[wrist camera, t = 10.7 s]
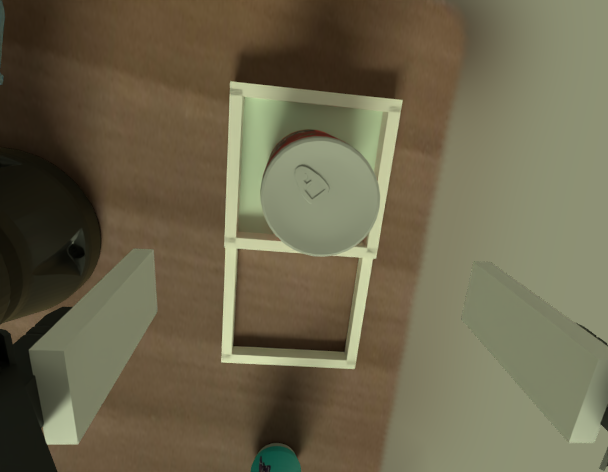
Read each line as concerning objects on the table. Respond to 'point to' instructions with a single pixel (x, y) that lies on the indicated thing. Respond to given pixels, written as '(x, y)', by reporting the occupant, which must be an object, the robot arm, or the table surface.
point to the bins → (247, 201)
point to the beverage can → (276, 459)
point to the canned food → (319, 193)
